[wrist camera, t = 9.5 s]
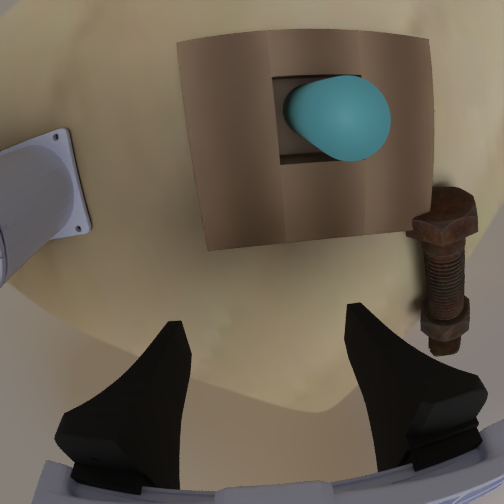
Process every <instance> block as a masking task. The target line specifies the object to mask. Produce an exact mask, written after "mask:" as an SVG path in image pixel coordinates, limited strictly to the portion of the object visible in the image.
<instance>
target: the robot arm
mask: <svg viewBox="0 0 504 504" xmlns="http://www.w3.org/2000/svg"><path fill="white" fill-rule="evenodd" d="M56 134H58V136H59V139H58V140H57V139H56ZM78 226H80V227H81V230H80V229H79V228H78ZM90 230H91V223H90V219H89V216H88V212H87V208H86V205H85V201H84V197H83V193H82V189H81V185H80V181H79V177H78V172H77V168H76V163H75V159H74V154H73V149H72V144H71V139H70V134H69V130H68V129H67V128H60V129H57V130H54V131H52V132H49V133H46V134H43V135H40V136H38V137H35V138H32V139H30V140H27V141H25V142H22V143H20V144H17V145H15V146H12V147H10V148H8V149H5V150H3V151H1V152H0V288H1V287H2V286H3V285H4V284H5V283H6V282H7V281H8V280H9V278H10V277H11V276H12V275H13V274H14V273H15V272H16V271H17V270H18V269H19V268H20V267H21V266H22V265H24V264H25V263H26V262H27V261H28V260H29V259H30V258H31V257H32V256H33V255H34V254H35V253H36V252H37V251H38V250H39V249H40V248H41V247H42V246H44V245H45V244H46V243H47V242H48V241H49V240H52V239H58V238H64V237H70V236H76V235H83V234H87V233H89V232H90ZM344 341H345V345H346V349H347V353H348V357H349V360H350V363H351V366H352V368H353V371H354V374H355V376H356V379H357V381H358V384H359V387H360V389H361V392H362V394H363V397H364V401H365V404H366V408H367V412H368V416H369V421H370V425H371V430H372V436H373V441H374V447H375V453H376V460H377V468H378V473H374V474H370V475H365V476H361V477H356V478H351V479H346V480H341V481H335V482H329V483H328V482H324V481H304V482H295V483H286V484H276V485H261V486H240V487H239V486H238V487H229V488H224V489H222V490H219V491H191V490H180V481H179V449H180V431H181V419H182V413H183V408H184V403H185V398H186V393H187V388H188V383H189V378H190V371H191V356H192V353H191V350H190V347H189V344H188V341H187V337H186V334H185V331H184V327H183V324H182V321H168V322H167V324H166V325H165V326H164V327H163V329H162V330H161V331H160V333H159V334H158V335H157V337H156V338H155V339H154V340H153V342H152V343H151V344H150V345H149V347H148V348H147V349H146V350H145V352H144V353H143V354H142V355H141V356H140V357H139V359H138V360H137V361H136V362H135V363H134V364H133V365H132V366H131V367H130V368H129V369H128V371H126V372H125V373H124V374H123V375H122V376H121V377H120V378H119V379H118V380H116V381H115V382H114V383H113V384H112V385H110V386H109V387H107V388H106V389H105V390H104V391H102V392H101V393H100V394H98V395H96V396H95V397H93V398H92V399H90V400H89V401H87V402H85V403H84V404H82V405H80V406H78V407H76V408H74V409H72V410H70V411H69V412H66V413H64V415H63V417H62V419H61V422H60V424H59V427H58V429H57V432H56V434H55V441H56V443H57V445H58V446H59V447H60V449H62V451H63V452H64V453H65V454H66V455H67V456H69V458H71V459H72V460H73V461H74V462H75V464H74V467H73V468H71V467H69V466H67V465H64V464H60V463H56V462H53V461H50V460H46V462H45V465H44V467H43V470H42V473H41V476H40V479H39V482H38V485H37V488H36V491H35V494H34V497H33V501H32V504H469V503H471V502H473V501H475V500H477V499H478V498H480V497H482V496H484V495H486V494H488V493H490V492H492V491H493V490H495V489H497V488H499V487H500V486H501V485H502V484H503V483H504V419H503V420H501V421H499V422H497V423H494V424H492V425H491V426H488V427H486V428H484V429H483V430H482V431H480V432H479V431H478V429H477V426H478V425H479V422H478V420H477V418H476V416H477V415H478V413H479V412H480V410H481V409H482V407H483V405H484V404H485V402H486V400H487V396H488V392H487V390H486V388H485V387H484V385H483V383H482V382H481V380H480V378H479V377H478V376H477V375H475V374H471V373H468V372H465V371H462V370H458V369H456V368H453V367H451V366H448V365H446V364H444V363H441V362H439V361H437V360H435V359H433V358H431V357H429V356H427V355H426V354H424V353H422V352H420V351H419V350H417V349H416V348H414V347H413V346H411V345H410V344H408V343H407V342H405V341H404V340H403V339H401V338H400V337H399V336H397V335H396V334H395V333H394V332H392V331H391V330H390V329H389V328H388V327H387V326H385V325H384V324H383V323H382V322H381V321H380V320H379V319H378V318H377V317H375V316H374V315H373V314H372V313H371V312H370V311H369V310H368V309H367V308H366V307H365V306H364V305H363V304H362V303H353V304H347V312H346V324H345V335H344Z"/></svg>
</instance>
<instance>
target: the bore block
mask: <svg viewBox="0 0 504 504" xmlns="http://www.w3.org/2000/svg"><path fill="white" fill-rule="evenodd" d="M177 52H178V61H179V69H180V77H181V85H182V92H183V100H184V107H185V114H186V121H187V128H188V135H189V142H190V148H191V155H192V161H193V167H194V174H195V180H196V186H197V192H198V198H199V204H200V210H201V215H202V221H203V227H204V232H205V238H206V243H207V249H208V251H211V250H221V249H231V248H240V247H250V246H260V245H270V244H279V243H289V242H299V241H309V240H319V239H329V238H339V237H349V236H359V235H369V234H380V233H390V232H400V231H411V230H413V226H412V219H413V218H414V217H416V216H419V215H422V214H424V213H427V212H429V211H430V207H431V196H432V182H433V163H434V97H433V79H432V66H431V55H430V46H429V39H425V38H419V37H412V36H406V35H398V34H390V33H381V32H371V31H358V30H339V29H287V30H268V31H254V32H244V33H234V34H226V35H219V36H212V37H205V38H199V39H193V40H187V41H182V42H177ZM343 75H350V76H356V77H360V78H363V79H365V80H367V81H369V82H370V83H372V84H373V85H374V86H375V87H377V88H378V89H379V91H380V92H381V93H382V94H383V96H384V97H385V99H386V101H387V104H388V107H389V110H390V116H391V125H390V130H389V134H388V136H387V139H386V141H385V142H384V144H383V145H382V147H381V148H380V149H379V150H378V151H377V152H376V153H374V154H373V155H372V156H370V157H368V158H366V159H363V160H359V161H342V160H338V159H335V158H333V157H331V156H329V155H327V154H326V153H324V152H323V151H322V150H320V149H319V148H317V147H316V146H315V145H313V144H312V143H310V142H309V141H307V140H306V139H305V138H303V137H302V136H300V135H299V134H297V133H296V132H294V131H293V130H292V129H291V128H290V127H289V126H288V125H287V123H286V121H285V119H284V116H283V103H284V100H285V98H286V96H287V94H288V93H289V92H290V91H291V90H292V89H294V88H295V87H297V86H299V85H303V84H307V83H311V82H315V81H319V80H323V79H328V78H332V77H337V76H343Z"/></svg>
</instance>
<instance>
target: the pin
mask: <svg viewBox="0 0 504 504" xmlns="http://www.w3.org/2000/svg"><path fill="white" fill-rule="evenodd" d="M283 116H284V119H285V121H286V123H287V125H288V126H289V127H290V128H291V129H292V130H293V131H294V132H296V133H297V134H299V135H300V136H302V137H303V138H305V139H306V140H307V141H309V142H310V143H312V144H313V145H315V146H316V147H317V148H319V149H320V150H322V151H323V152H324V153H326V154H327V155H329V156H331V157H333V158H335V159H338V160H342V161H359V160H363V159H366V158H368V157H370V156H372V155H373V154H374V153H376V152H377V151H378V150H379V149H380V148H381V147H382V145H383V144H384V142H385V141H386V139H387V136H388V134H389V130H390V125H391V116H390V110H389V107H388V104H387V101H386V99H385V97H384V96H383V94H382V93H381V92H380V91H379V89H378V88H377V87H375V86H374V85H373V84H372V83H370V82H369V81H367V80H365V79H363V78H360V77H356V76H350V75H343V76H337V77H332V78H328V79H323V80H319V81H315V82H311V83H307V84H303V85H299V86H297V87H295V88H294V89H292V90H291V91H290V92H289V93H288V94H287V96H286V98H285V100H284V103H283Z"/></svg>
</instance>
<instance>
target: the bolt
mask: <svg viewBox="0 0 504 504" xmlns="http://www.w3.org/2000/svg"><path fill="white" fill-rule="evenodd" d="M412 226H413V230H411V231H406V236H407V237H410V238H414V239H417V240H421V243H422V248H423V249H424V260H425V271H426V282H427V298H426V299H424V300H423V303H422V310H421V321H420V322H421V331H422V332H424V333H425V334H426V335H427V336H429V348H430V352H431V353H432V354H433V355H434V356H436V357H437V356H445V355H451V354H455V353H457V352H458V350H459V348H460V341H461V335H462V334H464V333H465V332H466V331H468V330H469V321H470V305H469V304H470V303H469V299H468V298H467V297H466V296H464V282H465V281H464V279H465V275H464V267H465V266H464V265H465V250H464V248H465V242H466V240H465V237H467V236H469V235H472V234H474V233H476V232H478V216H477V209H476V204H475V200H474V197H473V195H471V194H469V193H468V192H466V191H464V190H462V189H460V188H457V187H435V188H432V196H431V207H430V211H429V212H427V213H424V214H422V215H419V216H416V217H414V218H413V219H412Z"/></svg>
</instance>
